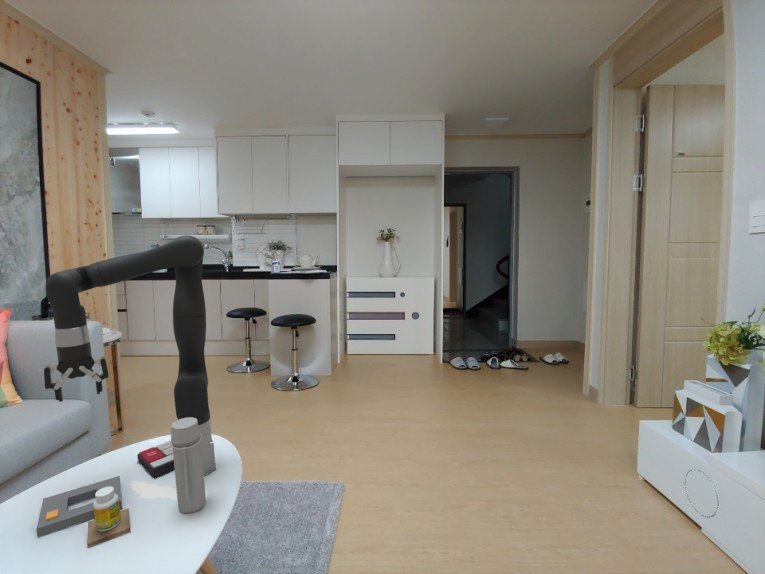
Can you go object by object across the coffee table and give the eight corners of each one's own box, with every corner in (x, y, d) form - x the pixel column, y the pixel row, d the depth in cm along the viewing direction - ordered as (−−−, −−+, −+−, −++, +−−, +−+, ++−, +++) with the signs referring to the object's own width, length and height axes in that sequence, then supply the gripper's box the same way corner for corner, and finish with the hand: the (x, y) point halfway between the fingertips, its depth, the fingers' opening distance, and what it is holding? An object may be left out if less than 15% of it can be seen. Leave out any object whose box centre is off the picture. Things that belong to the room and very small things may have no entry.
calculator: (171, 438, 142) (188, 452, 132) (172, 450, 142) (190, 464, 132) (136, 452, 134) (152, 467, 124) (138, 464, 134) (154, 480, 124)
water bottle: (179, 500, 114) (171, 418, 111) (208, 494, 117) (202, 414, 113) (172, 522, 106) (164, 434, 102) (205, 516, 108) (197, 430, 104)
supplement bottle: (104, 517, 106) (100, 484, 105) (125, 516, 106) (121, 483, 105) (91, 533, 101) (86, 498, 99) (113, 532, 101) (109, 497, 100)
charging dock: (120, 483, 122) (119, 473, 122) (122, 509, 111) (121, 498, 111) (44, 506, 112) (43, 496, 112) (37, 537, 101) (36, 526, 100)
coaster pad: (128, 511, 110) (128, 507, 110) (130, 532, 103) (130, 527, 102) (88, 525, 105) (88, 521, 105) (87, 548, 97) (86, 543, 97)
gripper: (104, 335, 118) (110, 387, 120) (41, 343, 110) (49, 398, 112) (104, 340, 112) (110, 395, 114) (38, 349, 104) (46, 408, 106)
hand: (80, 397), depth 113 cm, fingers open, 8 cm apart
